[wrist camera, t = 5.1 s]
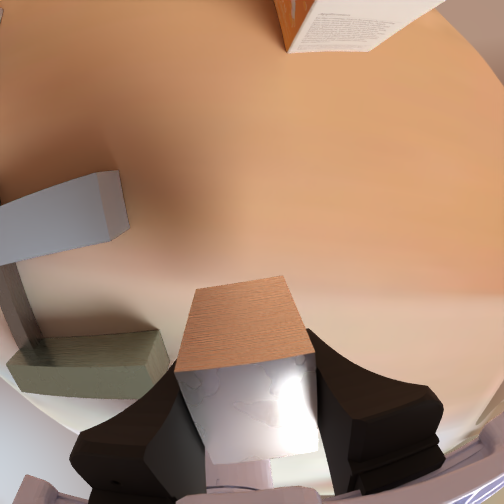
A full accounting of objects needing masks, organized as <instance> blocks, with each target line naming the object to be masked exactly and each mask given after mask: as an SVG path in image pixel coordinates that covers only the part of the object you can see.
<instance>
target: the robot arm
mask: <svg viewBox="0 0 504 504" xmlns="http://www.w3.org/2000/svg"><path fill="white" fill-rule="evenodd" d="M306 331H307V333H308V336H309V338H310V341H311V343H312V345H313V348H314V350H315V357H316V381H317V423H318V428H319V431H320V434H321V438H322V442H323V446H324V450H325V454H326V458H327V462H328V466H329V470H330V475H331V479H332V484H333V488H334V493H335V496H334V497H330V498H325V499H321V498H320V495H319V494H318V492H317V491H316V490H315V489H312V488H308V487H302V486H291V487H279V488H274V487H273V479H272V472H271V464H270V459H266V460H258V461H250V462H240V463H229V464H213V462H212V460H211V458H210V456H209V454H208V452H207V450H206V448H205V446H204V443H203V441H202V439H201V437H200V435H199V432H198V430H197V428H196V426H195V423H194V421H193V419H192V416H191V414H190V412H189V409H188V407H187V404H186V402H185V399H184V397H183V395H182V392H181V389H180V387H179V384H178V382H177V379H176V376H175V374H174V370H175V366H176V362H177V359H176V361H175V362H174V363H173V365H172V366H171V367H170V368H169V369H168V371H167V372H166V373H165V374H164V375H163V376H162V378H161V379H160V380H159V381H158V382H157V383H156V384H155V385H154V386H153V387H152V388H151V389H150V390H149V391H148V392H147V393H146V394H145V395H144V396H142V397H141V398H140V399H139V400H138V401H136V402H135V403H134V404H132V405H131V406H129V407H128V408H127V409H125V410H124V411H122V412H121V413H119V414H118V415H116V416H114V417H113V418H111V419H109V420H107V421H105V422H103V423H101V424H99V425H97V426H94V427H92V428H90V429H87V430H85V431H82V432H80V434H79V436H78V438H77V441H76V443H75V445H74V447H73V450H72V452H71V454H70V458H69V460H70V462H71V465H72V467H73V468H74V469H75V470H76V472H77V473H78V474H79V475H80V476H81V477H82V478H83V479H84V480H85V481H86V482H87V483H88V484H89V485H90V486H91V487H92V492H91V494H90V497H89V500H86V499H82V498H78V497H74V496H71V495H67V494H63V493H60V492H58V491H57V490H56V489H55V487H54V486H52V485H51V484H50V483H48V482H47V481H45V480H42V479H39V478H36V477H33V476H30V475H25V477H24V479H23V481H22V484H21V486H20V488H19V490H18V492H17V495H16V497H15V499H14V501H13V504H480V503H482V502H483V501H485V500H486V499H487V498H489V497H490V496H492V495H493V494H494V493H496V492H497V491H498V490H500V489H501V488H502V487H504V411H503V412H502V413H500V414H499V415H497V416H496V417H494V418H493V419H491V420H490V421H489V422H487V423H486V424H485V425H484V427H483V428H482V430H481V431H480V434H479V436H478V437H477V438H475V439H474V440H472V441H470V442H469V443H467V444H465V445H463V446H461V447H460V448H458V449H456V450H454V451H452V452H450V453H448V454H446V455H444V454H443V453H442V451H441V449H440V448H439V446H438V445H437V444H438V443H439V438H438V437H437V435H436V434H435V433H436V430H437V428H438V426H439V423H440V421H441V418H442V415H443V411H444V408H443V404H442V403H441V401H440V400H439V399H438V397H437V396H436V395H435V393H434V392H433V391H432V390H431V389H430V388H429V387H428V386H425V385H418V384H411V383H406V382H401V381H397V380H394V379H390V378H387V377H384V376H381V375H378V374H376V373H373V372H371V371H368V370H366V369H364V368H362V367H360V366H358V365H356V364H354V363H353V362H351V361H349V360H348V359H346V358H345V357H343V356H342V355H340V354H339V353H337V352H336V351H335V350H333V349H332V348H331V347H330V346H328V345H327V344H326V343H325V342H323V341H322V340H321V339H320V338H319V337H318V336H317V335H316V334H314V333H313V332H312V331H311V330H310V329H309V328H308V329H306Z"/></svg>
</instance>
